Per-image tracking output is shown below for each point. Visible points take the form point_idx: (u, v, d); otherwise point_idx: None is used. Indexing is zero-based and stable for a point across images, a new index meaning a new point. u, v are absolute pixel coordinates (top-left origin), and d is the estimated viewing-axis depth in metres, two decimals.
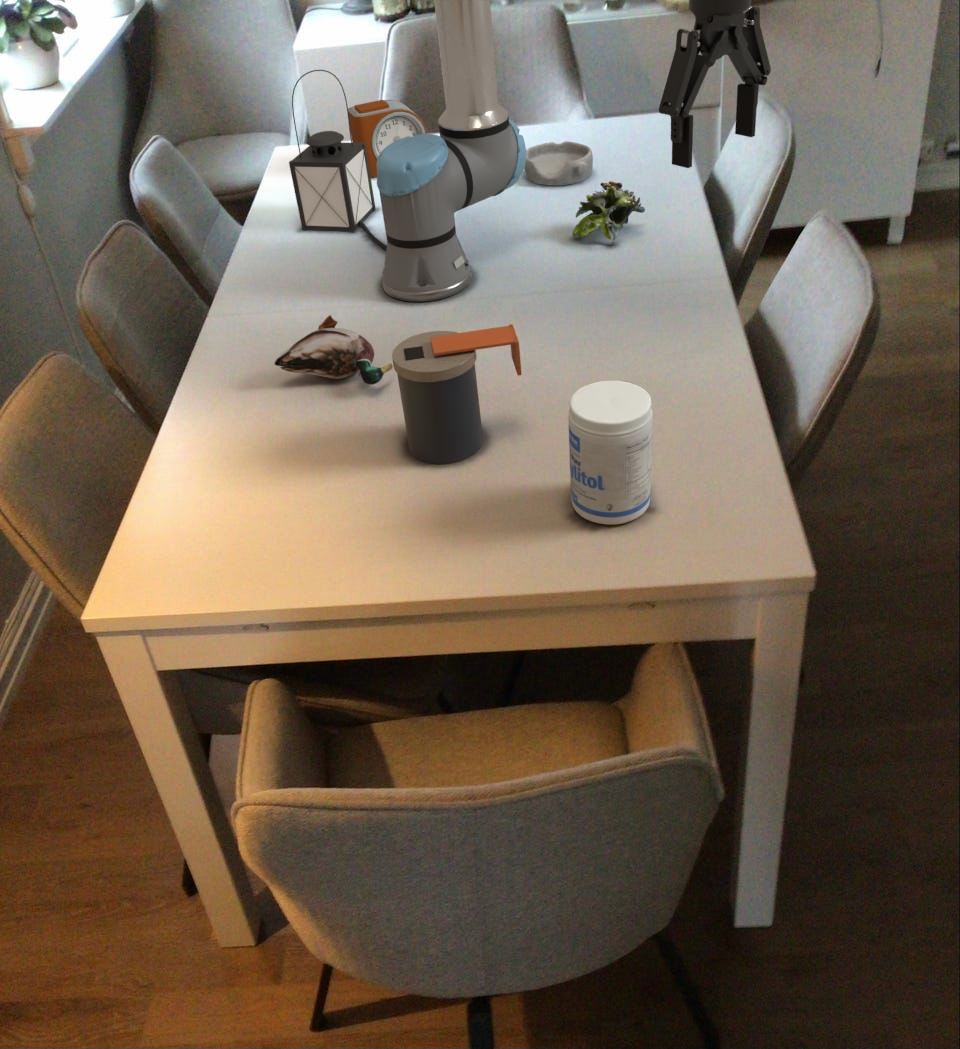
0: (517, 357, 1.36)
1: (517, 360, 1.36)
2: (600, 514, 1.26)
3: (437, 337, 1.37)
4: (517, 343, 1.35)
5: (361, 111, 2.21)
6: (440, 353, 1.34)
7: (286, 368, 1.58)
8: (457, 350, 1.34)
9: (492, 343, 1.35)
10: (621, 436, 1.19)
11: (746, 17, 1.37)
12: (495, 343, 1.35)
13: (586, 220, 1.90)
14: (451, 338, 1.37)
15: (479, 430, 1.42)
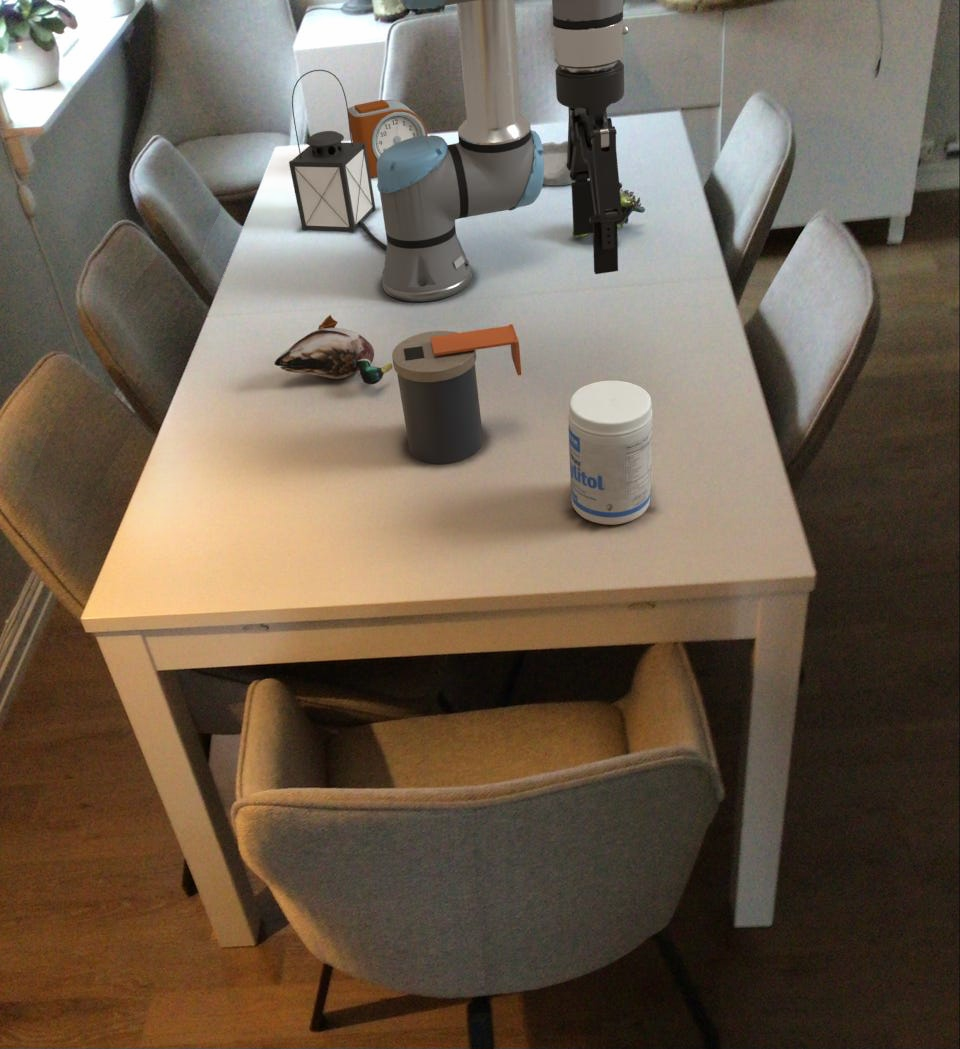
0: (517, 357, 1.36)
1: (517, 360, 1.36)
2: (600, 514, 1.26)
3: (437, 337, 1.37)
4: (517, 343, 1.35)
5: (361, 111, 2.21)
6: (440, 353, 1.34)
7: (286, 368, 1.58)
8: (457, 350, 1.34)
9: (492, 343, 1.35)
10: (621, 436, 1.19)
11: None
12: (495, 343, 1.35)
13: None
14: (451, 338, 1.37)
15: (479, 430, 1.42)
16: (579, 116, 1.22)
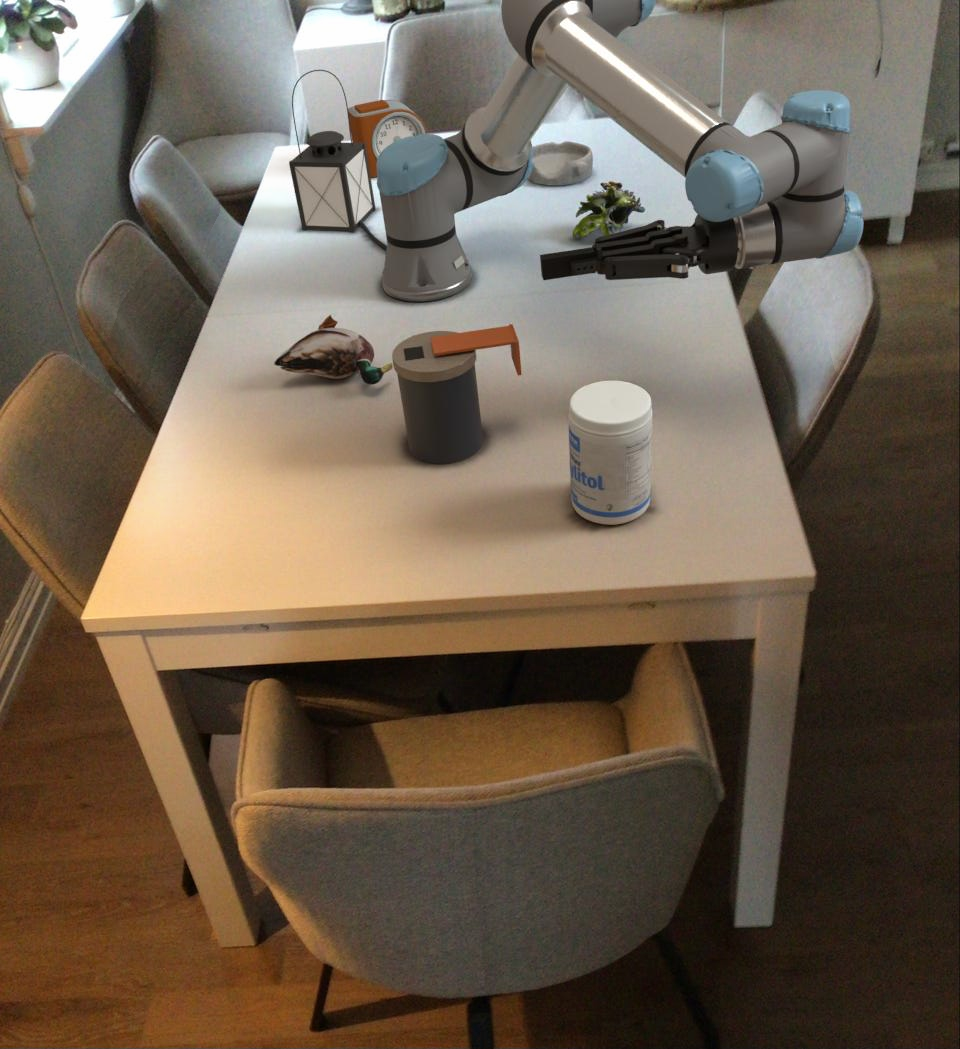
0: (517, 357, 1.36)
1: (517, 360, 1.36)
2: (600, 514, 1.26)
3: (437, 337, 1.37)
4: (517, 343, 1.35)
5: (361, 111, 2.21)
6: (440, 353, 1.34)
7: (286, 368, 1.58)
8: (457, 350, 1.34)
9: (492, 343, 1.35)
10: (621, 436, 1.19)
11: None
12: (495, 343, 1.35)
13: (586, 220, 1.90)
14: (451, 338, 1.37)
15: (479, 430, 1.42)
16: (683, 233, 1.33)
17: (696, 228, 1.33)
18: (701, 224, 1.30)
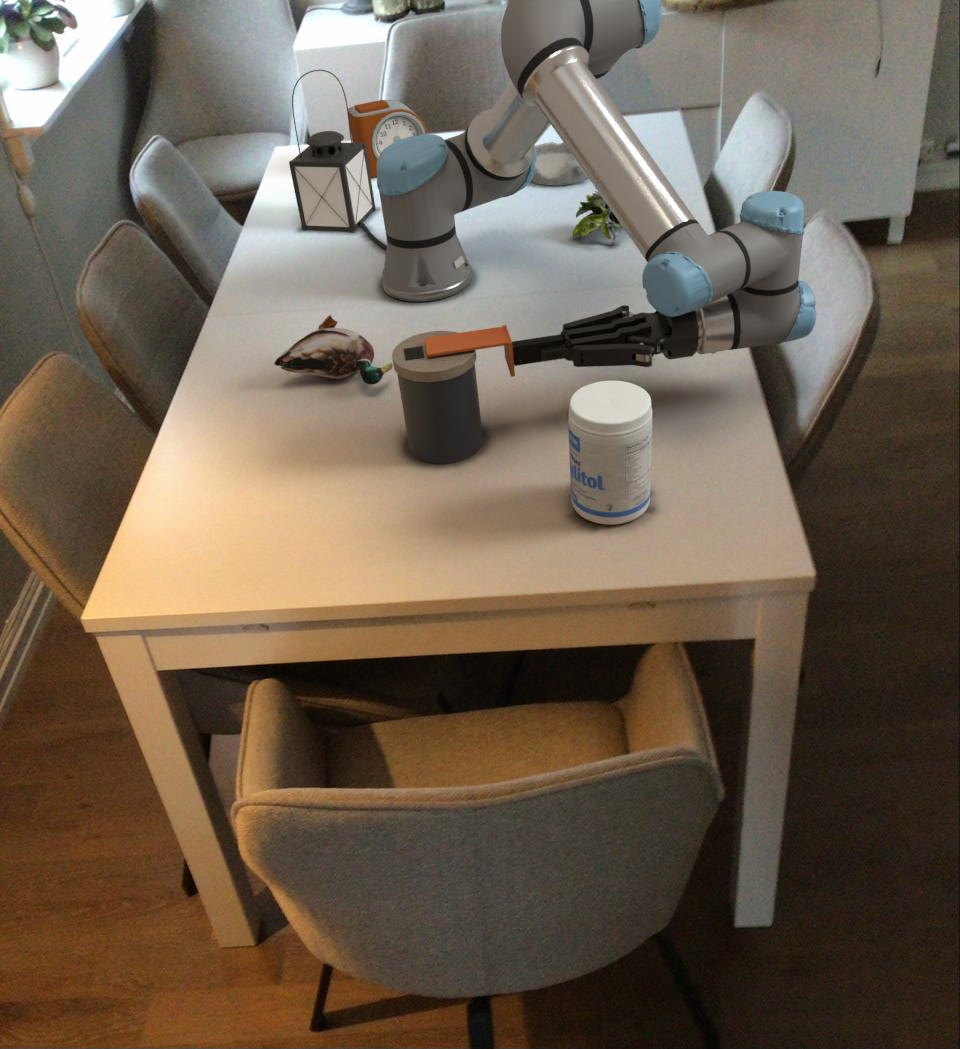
0: (510, 358, 1.36)
1: (510, 361, 1.36)
2: (600, 514, 1.26)
3: (430, 338, 1.37)
4: (510, 344, 1.35)
5: (361, 111, 2.21)
6: (433, 354, 1.34)
7: (286, 368, 1.58)
8: (450, 351, 1.34)
9: (485, 344, 1.35)
10: (621, 436, 1.19)
11: None
12: (488, 344, 1.35)
13: (586, 220, 1.90)
14: (444, 339, 1.37)
15: (479, 430, 1.42)
16: (647, 320, 1.39)
17: (659, 315, 1.40)
18: None
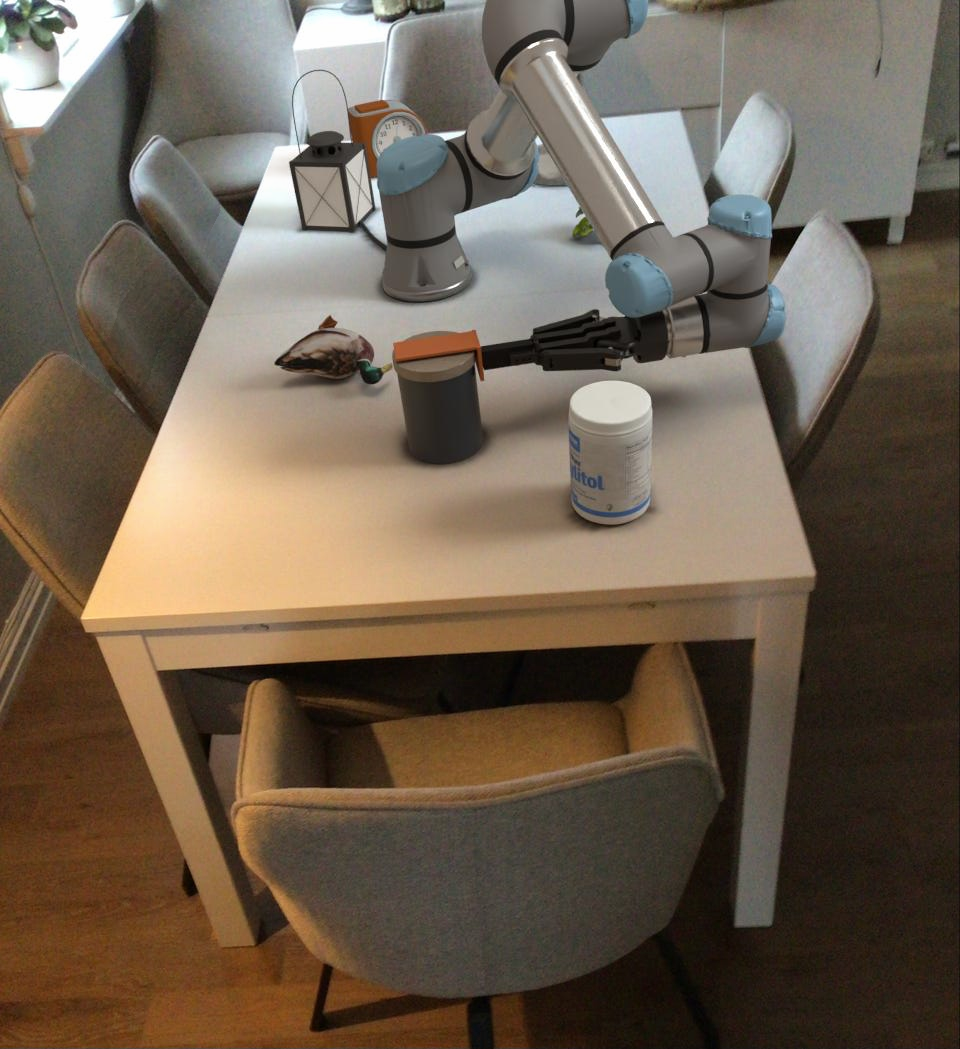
0: (479, 363, 1.36)
1: (479, 366, 1.36)
2: (600, 514, 1.26)
3: (400, 343, 1.37)
4: (479, 349, 1.34)
5: (361, 111, 2.21)
6: (402, 359, 1.34)
7: (286, 368, 1.58)
8: (419, 356, 1.34)
9: (454, 349, 1.35)
10: (621, 436, 1.19)
11: None
12: (457, 349, 1.35)
13: (586, 220, 1.90)
14: (414, 343, 1.37)
15: (479, 430, 1.42)
16: (617, 324, 1.39)
17: (629, 319, 1.40)
18: (633, 317, 1.37)
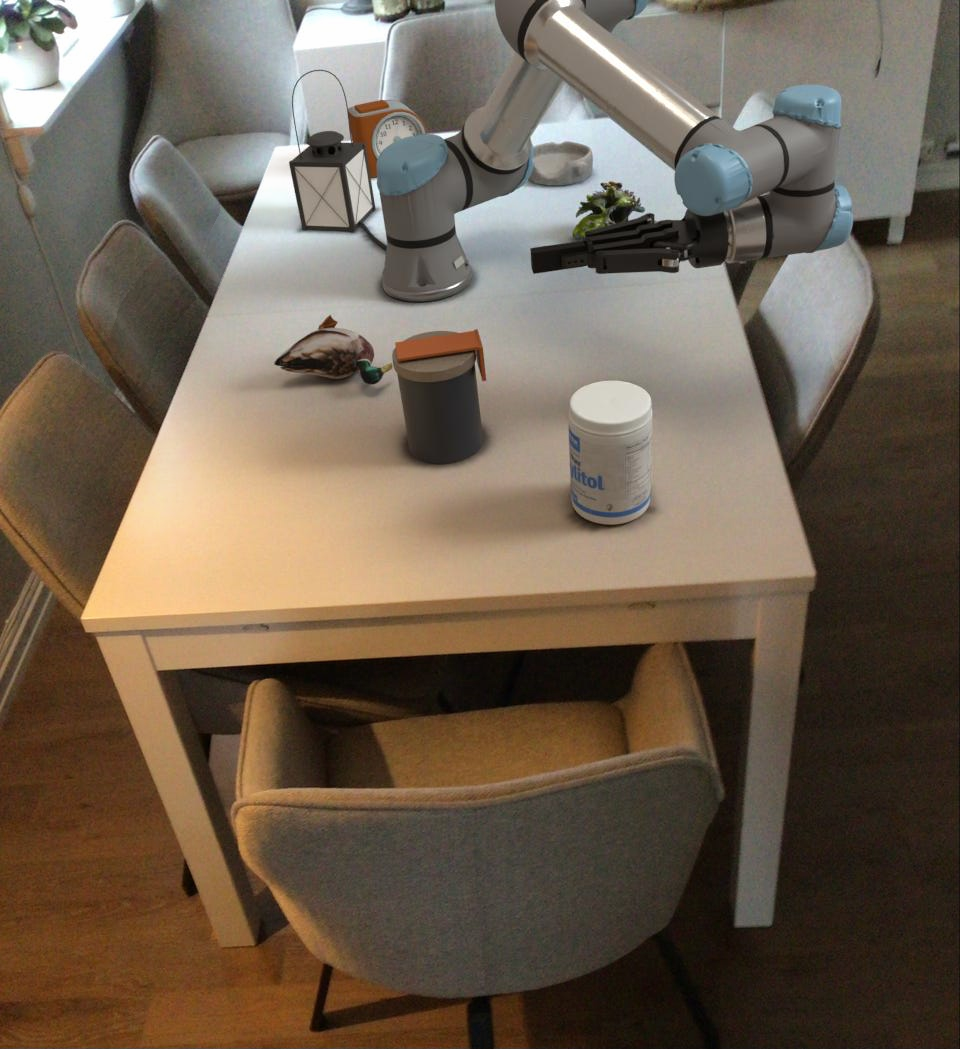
0: (481, 362, 1.36)
1: (481, 365, 1.36)
2: (600, 514, 1.26)
3: (401, 342, 1.37)
4: (481, 348, 1.34)
5: (361, 111, 2.21)
6: (404, 358, 1.34)
7: (286, 368, 1.58)
8: (421, 355, 1.34)
9: (456, 348, 1.35)
10: (621, 436, 1.19)
11: None
12: (459, 348, 1.35)
13: (586, 220, 1.90)
14: (415, 343, 1.37)
15: (479, 430, 1.42)
16: (674, 227, 1.32)
17: (686, 222, 1.33)
18: (692, 218, 1.30)
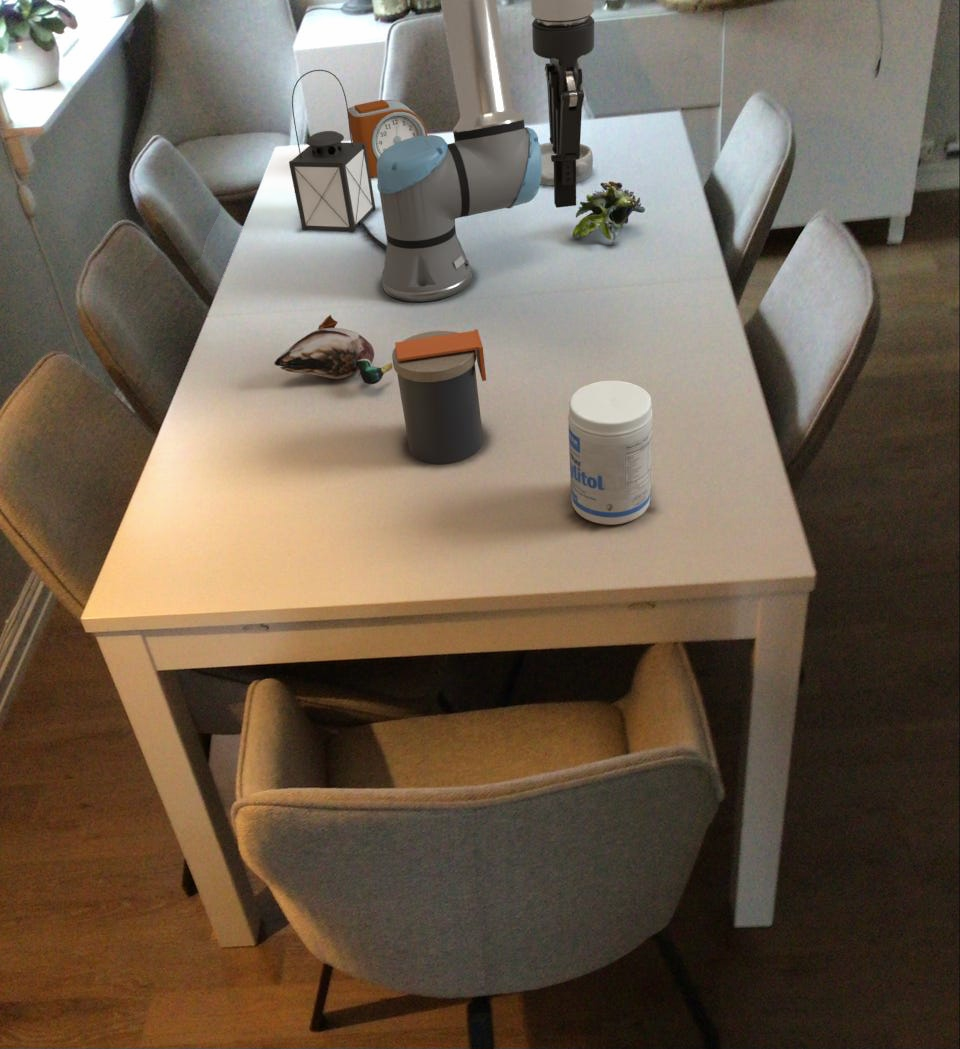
0: (481, 362, 1.36)
1: (481, 365, 1.36)
2: (600, 514, 1.26)
3: (401, 342, 1.37)
4: (481, 348, 1.34)
5: (361, 111, 2.21)
6: (404, 358, 1.34)
7: (286, 368, 1.58)
8: (421, 355, 1.34)
9: (456, 348, 1.35)
10: (621, 436, 1.19)
11: None
12: (459, 348, 1.35)
13: (586, 220, 1.90)
14: (415, 343, 1.37)
15: (479, 430, 1.42)
16: (552, 64, 1.35)
17: None
18: None
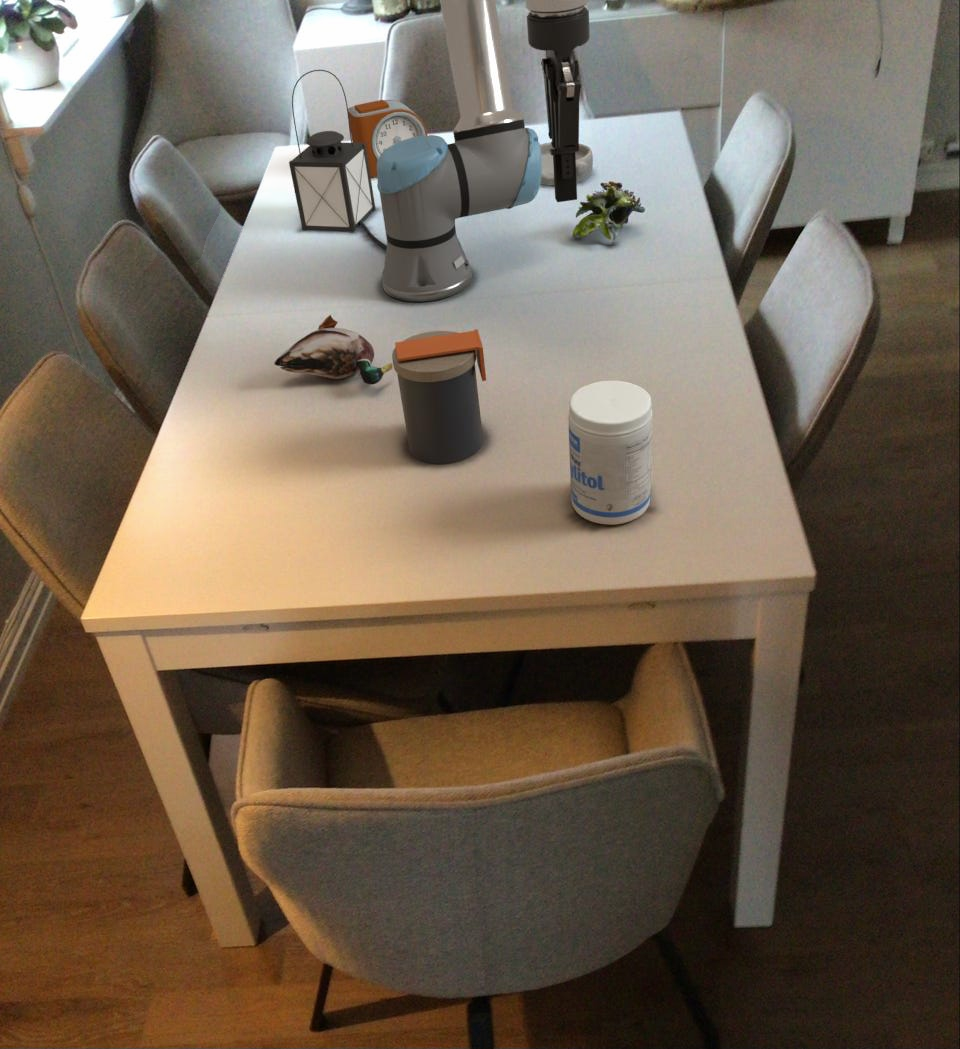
0: (481, 362, 1.36)
1: (481, 365, 1.36)
2: (600, 514, 1.26)
3: (401, 342, 1.37)
4: (481, 348, 1.34)
5: (361, 111, 2.21)
6: (404, 358, 1.34)
7: (286, 368, 1.58)
8: (421, 355, 1.34)
9: (456, 348, 1.35)
10: (621, 436, 1.19)
11: None
12: (459, 348, 1.35)
13: (586, 220, 1.90)
14: (415, 343, 1.37)
15: (479, 430, 1.42)
16: (548, 57, 1.35)
17: None
18: None
